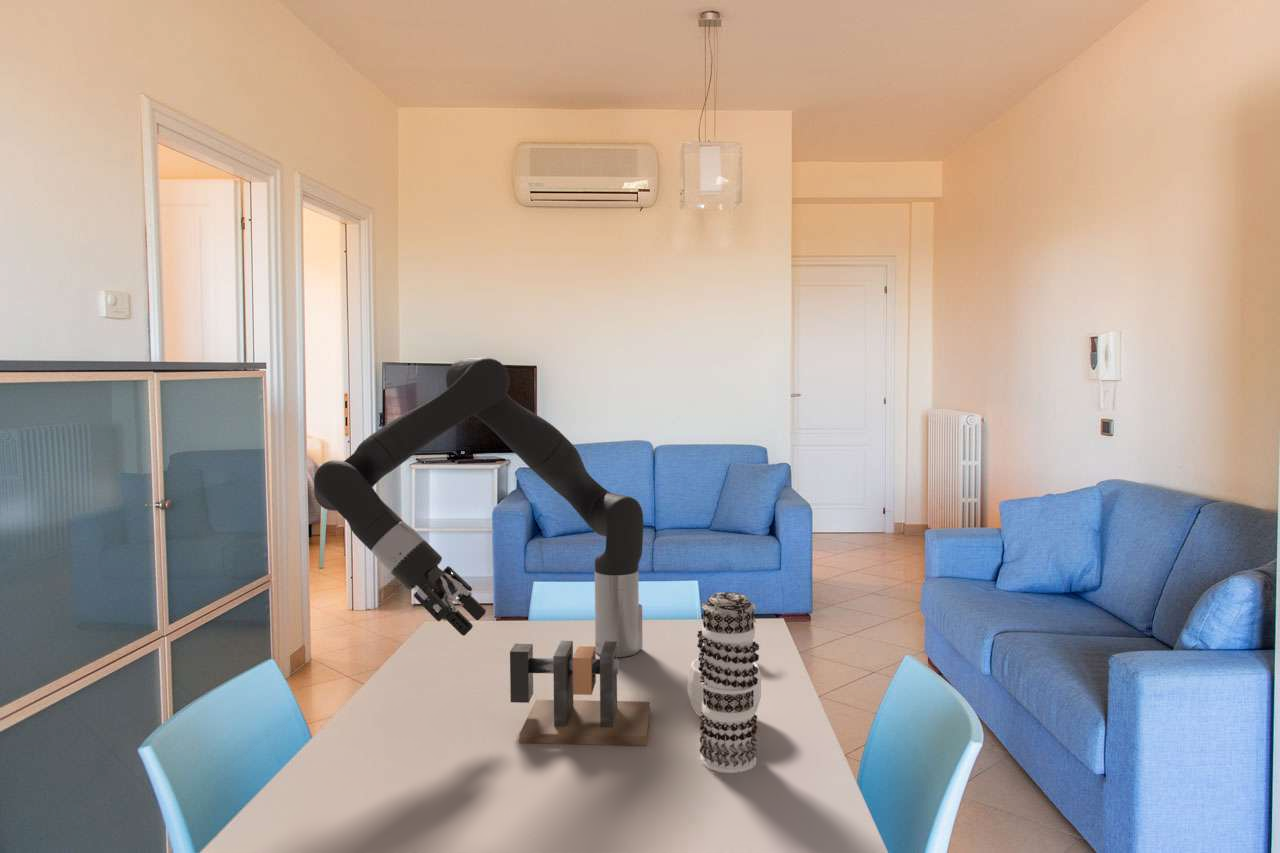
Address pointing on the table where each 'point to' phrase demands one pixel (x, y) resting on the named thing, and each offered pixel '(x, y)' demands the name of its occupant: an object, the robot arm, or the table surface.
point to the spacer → (583, 670)
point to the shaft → (534, 671)
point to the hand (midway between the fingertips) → (475, 623)
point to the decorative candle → (728, 683)
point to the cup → (697, 690)
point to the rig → (586, 709)
